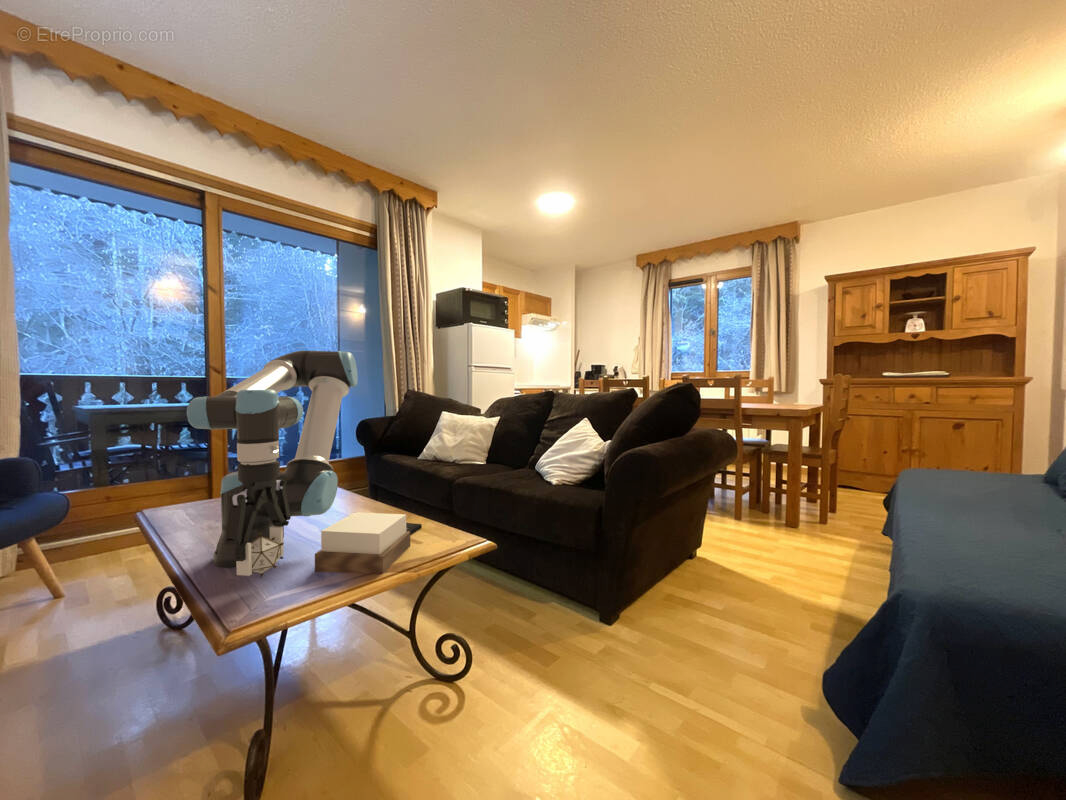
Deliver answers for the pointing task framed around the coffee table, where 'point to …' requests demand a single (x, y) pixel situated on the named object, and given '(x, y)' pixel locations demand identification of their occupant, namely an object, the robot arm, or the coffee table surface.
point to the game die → (264, 554)
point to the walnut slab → (361, 559)
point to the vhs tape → (413, 527)
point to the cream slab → (363, 533)
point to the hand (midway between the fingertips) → (261, 564)
